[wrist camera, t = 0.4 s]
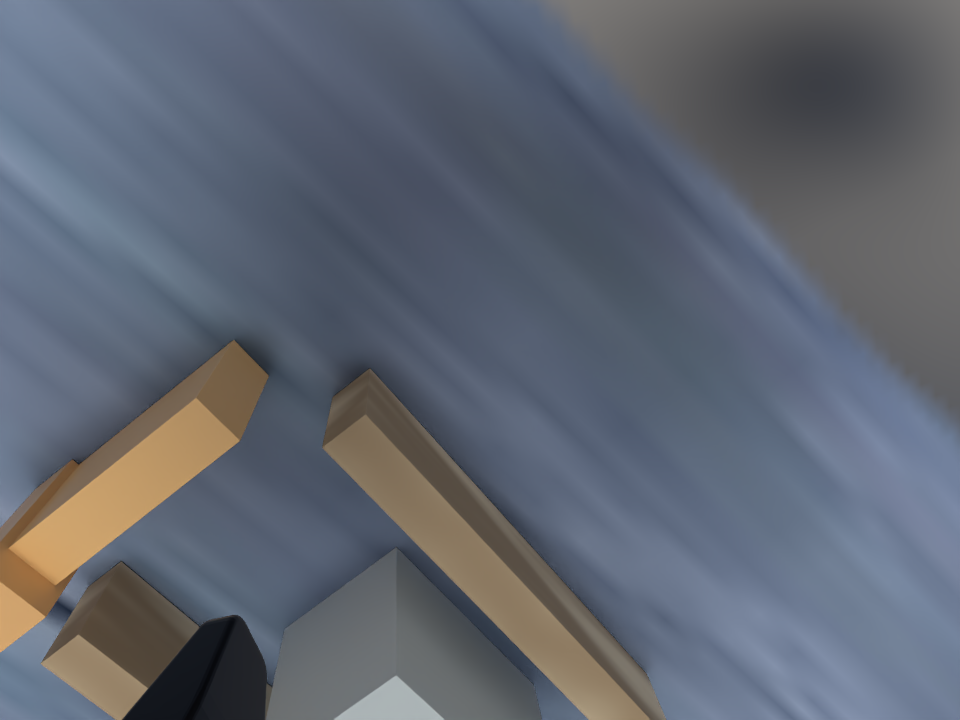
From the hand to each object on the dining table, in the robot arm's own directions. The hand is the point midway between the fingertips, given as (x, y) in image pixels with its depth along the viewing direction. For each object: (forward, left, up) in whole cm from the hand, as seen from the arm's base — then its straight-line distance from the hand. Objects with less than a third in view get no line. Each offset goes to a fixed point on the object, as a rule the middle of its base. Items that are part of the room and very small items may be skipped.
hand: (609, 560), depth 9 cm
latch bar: (-11, +2, -14) cm, 18 cm away
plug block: (-10, -10, -15) cm, 20 cm away
